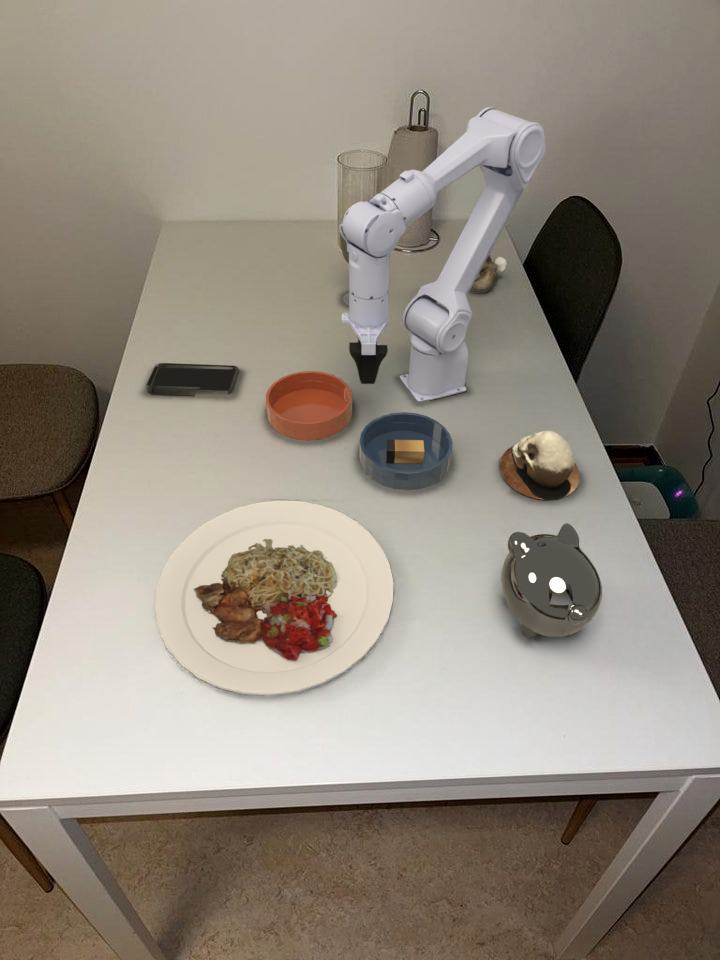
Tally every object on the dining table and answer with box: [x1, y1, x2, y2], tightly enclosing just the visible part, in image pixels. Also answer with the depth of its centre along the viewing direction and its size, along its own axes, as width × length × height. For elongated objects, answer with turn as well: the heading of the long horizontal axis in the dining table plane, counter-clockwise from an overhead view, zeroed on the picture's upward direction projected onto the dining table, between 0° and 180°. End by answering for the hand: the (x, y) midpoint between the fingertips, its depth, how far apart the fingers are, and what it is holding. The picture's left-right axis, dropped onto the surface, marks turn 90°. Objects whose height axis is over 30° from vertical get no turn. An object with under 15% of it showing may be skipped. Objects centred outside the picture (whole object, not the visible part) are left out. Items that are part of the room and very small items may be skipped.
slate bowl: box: [358, 411, 454, 491], centre depth 106 cm, size 14×14×4 cm
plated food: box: [154, 499, 394, 696], centre depth 87 cm, size 30×30×3 cm
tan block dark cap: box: [386, 439, 424, 464], centre depth 106 cm, size 6×3×3 cm, turn 89°
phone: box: [145, 362, 240, 397], centre depth 121 cm, size 8×1×15 cm
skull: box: [499, 430, 581, 501], centre depth 104 cm, size 12×10×10 cm
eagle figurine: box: [470, 254, 507, 294], centre depth 145 cm, size 8×7×9 cm
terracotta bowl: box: [265, 370, 353, 441], centre depth 113 cm, size 14×14×4 cm
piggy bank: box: [500, 523, 603, 639], centre depth 83 cm, size 11×15×12 cm
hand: (367, 368), depth 109 cm, fingers open, 7 cm apart
